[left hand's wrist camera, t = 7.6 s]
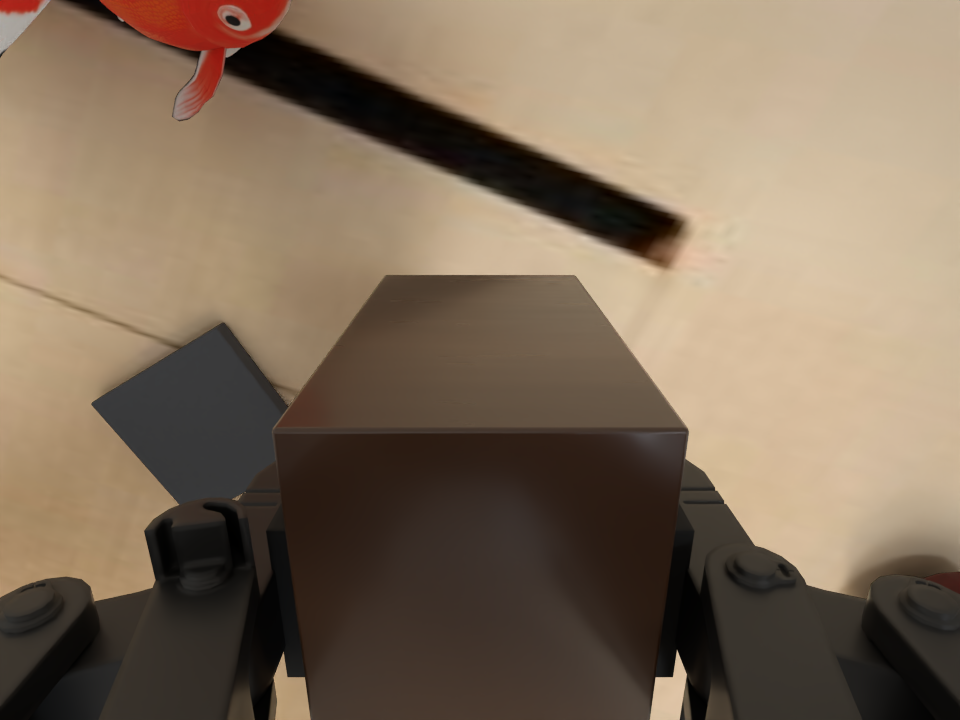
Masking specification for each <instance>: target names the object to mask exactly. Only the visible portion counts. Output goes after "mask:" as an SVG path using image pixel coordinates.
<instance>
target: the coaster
mask: <svg viewBox="0 0 960 720" xmlns="http://www.w3.org/2000/svg"><path fill="white" fill-rule="evenodd" d="M92 406H93V407H94V408H95V409H96V410H97V411H98V413H99V414H100V415H101V416H102V417H103V418H104V419H105V421H106V422H107V423H108V424H109V425H110V426H111V427H112V428H113V430H114V431H115V432H116V433H117V434H118V435H119V436H120V438H121V439H122V440H123V441H124V442H125V443H126V444H127V446H128V447H129V448H130V449H131V450H132V451H133V452H134V453H135V455H136V456H137V457H138V458H139V459H140V460H141V461H142V463H143V464H144V465H145V466H146V467H147V468H148V469H149V471H150V472H151V473H152V474H153V475H154V476H155V477H156V478H157V480H158V481H159V482H160V483H161V484H162V485H163V486H164V488H165V489H166V490H167V491H168V492H169V493H170V494H171V495H172V497H173V498H174V499H175V500H176V501H177V502H178V503H179V505H181V504H183V503H186V502H189V501H194V500H198V499H203V498H221V497H224V498H228V499H233V498H235V497H236V496H238V495H240V494H242V493H244V492H246V489H247V487H248V486H249V484H250V483H251V481H252V480H253V478H254V477H255V475H256V474H257V473H258V472H260V471H261V470H263V469H264V468H266V467H267V466H269V465H270V464H271V463H273V462H274V461H276V459H275V452H274V444H273V437H272V430H273V428H274V426H275V425H276V423H277V422H278V421H279V419H280V418H281V417H282V415H283V414H284V413H285V411H286V410H287V408H288V407H287V405H286V404H285V403H284V401H283V400H282V399H281V397H280V396H279V395H278V393H277V392H276V391H275V389H274V388H273V387H272V386H271V384H270V383H269V382H268V380H267V379H266V378H265V376H264V375H263V374H262V372H261V371H260V370H259V368H258V367H257V366H256V364H255V363H254V362H253V360H252V359H251V358H250V356H249V355H248V354H247V352H246V351H245V350H244V348H243V347H242V346H241V345H240V343H239V342H238V341H237V339H236V338H235V337H234V335H233V334H232V333H231V331H230V330H229V329H228V327H227V326H226V325H225V323H221V324H220V325H218V326H216V327H215V328H213V329H211V330H210V331H208V332H207V333H205V334H203V335H202V336H200V337H198V338H197V339H195V340H193V341H192V342H190V343H188V344H187V345H185V346H184V347H182V348H180V349H179V350H177V351H175V352H174V353H172V354H170V355H169V356H167V357H165V358H164V359H162V360H160V361H159V362H157V363H156V364H154V365H152V366H151V367H149V368H147V369H146V370H144V371H142V372H141V373H139V374H137V375H136V376H134V377H133V378H131V379H129V380H128V381H126V382H124V383H123V384H121V385H119V386H118V387H116V388H114V389H113V390H111V391H109V392H108V393H106V394H105V395H103V396H101V397H100V398H98V399H97V400H95V401H94V402H92Z"/></svg>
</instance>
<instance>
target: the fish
mask: <svg viewBox="0 0 960 720" xmlns="http://www.w3.org/2000/svg"><path fill="white" fill-rule="evenodd" d="M50 1H51V0H0V57H1V56H2V54H3V53H4V52H5V51H6V50H7V49H8V48H9V46H10V45H11V44H12V43H13V42H14V41H15V40H16V39H17V38H18V37H19V36H20V35H21V34H22V33H23V32H24V30H25V29H26V28H27V27H28V26H29V25H30V24H31V22H32V21H33V20H34V19H35V18H36V17H37V16H38V15H39V13H40V12H41V11H42V10H43V9H44V8H45V6H46V5H47V4H48V3H49V2H50ZM100 1H101V2H102V3H103V4H104V5H105V6H106V7H107V8H108V9H109V10H111V11H112V12H113V13H114V14H116V15H117V17H118V19H119V20H121V21H122V22H124V21H125V22H126V23H128V24H129V25H130V26H132V27H133V28H135V29H136V30H138V31H139V32H140V33H142V34H144V35H145V36H147V37H149V38H151V39H154V40H157V41H160V42H163V43H166V44H169V45H172V46H175V47H179V48H183V49H187V50H193V51H201V52H200V55H199V58H198V62H197V67H196V70H195V73H194V75H193V77H192V78H191V79H190V81H189V82H188V83H187V84H186V85H185V86H184V87H183V88H182V89H181V90H180V91H179V92H178V94H177V96H176V98H175V103H174V109H173V114H172V117H174V118H175V119H177V120H178V121H183V120H188V119H190V118H191V117H192V116H194V115H195V114H197V113H198V112H199V110H200V109H201V107H202V106H203V105H204V103H206V102H207V101H208V100H209V99H211V98H212V97H213V96H214V93H215V91H216V89H217V87H218V85H219V82H220V80H221V78H222V75H223V70H224V64H225V57H229V56H231V55H232V54H234V53H235V52H237V51H238V50H239V49H240V48H243V47H245V46H247V45H249V44H251V43H253V42H256V41H258V40H261V39H263V38H264V37H266V36H267V35H269V34H270V33H271V32H272V31H273V30H275V29H276V28H277V26H278V25H279V24H280V23H281V21H282V20H283V18H284V17H285V15H286V14H287V12H288V11H289V8H290V5H291V0H100Z"/></svg>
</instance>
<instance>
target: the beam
mask: <svg viewBox="0 0 960 720" xmlns="http://www.w3.org/2000/svg"><path fill="white" fill-rule="evenodd" d="M688 434H689V431H688V428H687V427H686V425H685V424H684V423H683V421H682V420H681V419H680V417H679V416H678V414H677V413H676V412H675V410H674V409H673V408H672V406H671V405H670V404H669V402H668V401H667V400H666V398H665V397H664V395H663V394H662V393H661V391H660V390H659V389H658V387H657V386H656V385H655V383H654V382H653V381H652V379H651V378H650V376H649V375H648V374H647V372H646V371H645V370H644V368H643V367H642V366H641V364H640V363H639V361H638V360H637V359H636V357H635V356H634V355H633V353H632V352H631V351H630V349H629V348H628V347H627V345H626V344H625V342H624V341H623V340H622V338H621V337H620V336H619V334H618V333H617V332H616V330H615V329H614V328H613V326H612V325H611V323H610V322H609V321H608V319H607V318H606V317H605V315H604V314H603V313H602V311H601V310H600V308H599V307H598V306H597V304H596V303H595V302H594V300H593V299H592V298H591V296H590V295H589V294H588V292H587V291H586V289H585V288H584V287H583V285H582V284H581V283H580V281H579V280H578V279H577V277H576V276H574V275H386V276H384V278H383V279H382V280H381V282H380V283H379V285H378V286H377V287H376V289H375V290H374V291H373V293H372V294H371V295H370V297H369V298H368V300H367V301H366V302H365V304H364V305H363V306H362V308H361V309H360V310H359V312H358V313H357V315H356V316H355V317H354V319H353V320H352V321H351V323H350V324H349V325H348V327H347V328H346V330H345V331H344V332H343V334H342V335H341V336H340V338H339V339H338V340H337V342H336V343H335V344H334V346H333V347H332V349H331V350H330V351H329V353H328V354H327V355H326V357H325V358H324V359H323V361H322V362H321V364H320V365H319V366H318V368H317V369H316V370H315V372H314V373H313V374H312V376H311V377H310V379H309V380H308V381H307V383H306V384H305V385H304V387H303V388H302V389H301V391H300V392H299V394H298V395H297V396H296V398H295V399H294V400H293V402H292V403H291V404H290V406H289V407H288V408H287V410H286V411H285V413H284V414H283V415H282V417H281V418H280V419H279V421H278V422H277V423H276V425H275V426H274V428H273V430H272V437H273V444H274V452H275V459H276V466H277V474H278V481H279V488H280V496H281V503H282V511H283V518H284V525H285V533H286V540H287V547H288V555H289V562H290V570H291V577H292V584H293V592H294V599H295V607H296V614H297V621H298V629H299V636H300V643H301V651H302V658H303V666H304V673H305V680H306V688H307V695H308V702H309V710H310V717H311V720H650V714H651V706H652V699H653V691H654V684H655V677H656V669H657V662H658V655H659V647H660V640H661V633H662V625H663V618H664V611H665V603H666V596H667V589H668V581H669V574H670V567H671V559H672V552H673V545H674V537H675V530H676V523H677V515H678V508H679V501H680V493H681V486H682V478H683V471H684V464H685V456H686V449H687V442H688Z"/></svg>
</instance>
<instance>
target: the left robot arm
mask: <svg viewBox="0 0 960 720" xmlns="http://www.w3.org/2000/svg"><path fill="white" fill-rule="evenodd" d="M144 532H145V536H146V541H147V545H148V549H149V554H150V558H151V562H152V566H153V571H154V575H155V579H156V581H155V583H154V586H153V588H151V589H147V590H144V591H140V592H136V593H132V594H127V595H123V596H118V597H113V598H109V599H104V600H100V601H95V602H94V598H93V595H92V591H91V588H90V586H89V585H88V584H87V583H85V582H84V581H83V580H82V579H77V578H71V577H59V578H51V579H44V580H41V581H37V582H35V583H30V584H28V585H25V586H22V587H20V588H18V589H16V590H14V591H12V592H10V593H8V594H6V595H4V596H2V597H1V598H0V720H275V715H276V706H277V698H276V691H275V684H274V678H273V677H274V675H275V672H276V670H277V667H278V664H279V662H280V659H281V657H282V654H283V652H284V656H285V663H286V670H287V676H288V677H305V673H304V666H303V658H302V651H301V643H300V636H299V629H298V621H297V614H296V607H295V599H294V592H293V584H292V577H291V570H290V562H289V555H288V547H287V540H286V533H285V525H284V518H283V511H282V503H281V496H280V488H279V481H278V474H277V466H276V461H274V462H273V463H271V464H270V465H269V466H267V467H266V468H264V469H263V470H261V471H260V472H258V473H257V474H256V475H255V477H254V478H253V480H252V481H251V483H250V484H249V486H248V487H247V489H246V493H243V494H242V496H241V497H240V499H239V500H238V501H236V500H232V499H228V498H224V497H221V498H203V499H198V500H194V501H189V502H186V503H183V504H181V505H178V506H176V507H173V508H171V509H168V510H167V511H165V512H164V513H162V514H161V515H159V516H158V517H156V518H155V519H153V521H152V522H151V523H150V524H149V526H148V527H147V528H146V529H145V530H144ZM677 650H678V653H679V655H680V658H681V660H682V663H683V666H684V668H685V671H686V673H687V678H686V684H685V690H684V697H683V703H682V709H681V715H680V720H960V594H958V593H956V592H954V591H952V590H950V589H948V588H946V587H944V586H942V585H940V584H938V583H935V582H932V581H930V580H926V579H922V578H918V577H915V576H906V575H897V574H894V575H888V576H882V577H879V578H878V579H876V580H875V581H874V582H873V583H872V584H871V586H870V589H869V593H868V596H867V599H863V598H859V597H854V596H849V595H845V594H840V593H835V592H831V591H826V590H822V589H819V588H815V587H812V586H808V585H806V582H805V580H804V578H803V577H802V576H801V574H800V573H799V571H798V570H797V568H796V567H795V566H793V565H792V564H791V563H789V562H788V561H787V560H786V559H784V558H783V557H782V556H780V555H777V554H775V553H773V552H771V551H769V550H767V549H764V548H761V547H757V546H755V545H754V544H753V542H752V541H751V539H750V538H749V536H748V535H747V534H746V532H745V531H744V529H743V528H742V526H741V525H740V523H739V522H738V520H737V519H736V518H735V516H734V515H733V513H732V512H731V510H730V509H729V507H728V506H727V504H724V500H723V499H722V497H721V496H720V494H719V493H718V491H715V487H714V486H713V484H712V483H711V481H710V480H709V478H708V477H707V475H706V474H705V472H703V471H702V470H701V469H699V468H698V467H696V466H695V465H693V464H692V463H690V462H689V461H687V460H686V459H685V464H684V471H683V478H682V486H681V493H680V501H679V508H678V515H677V523H676V530H675V537H674V545H673V552H672V559H671V567H670V574H669V581H668V589H667V596H666V603H665V611H664V618H663V625H662V633H661V640H660V647H659V655H658V662H657V669H656V677H673V672H674V666H675V659H676V652H677Z"/></svg>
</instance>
